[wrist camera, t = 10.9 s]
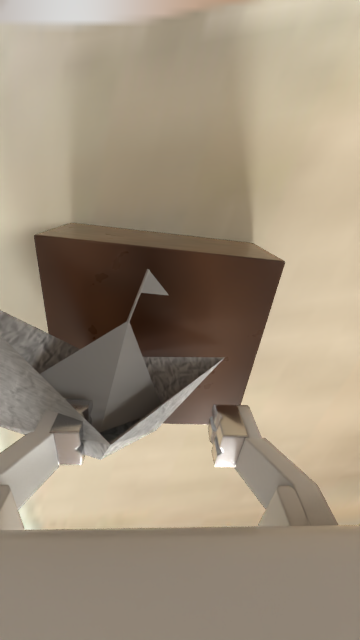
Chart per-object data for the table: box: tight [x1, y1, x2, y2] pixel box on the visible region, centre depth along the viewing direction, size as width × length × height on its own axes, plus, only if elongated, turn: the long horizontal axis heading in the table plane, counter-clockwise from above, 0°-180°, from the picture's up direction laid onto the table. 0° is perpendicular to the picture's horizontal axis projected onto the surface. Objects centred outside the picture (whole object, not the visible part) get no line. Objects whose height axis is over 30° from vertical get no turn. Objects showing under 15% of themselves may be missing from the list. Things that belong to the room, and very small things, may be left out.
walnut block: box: [34, 223, 285, 425], centre depth 16 cm, size 12×12×5 cm
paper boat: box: [0, 269, 225, 460], centre depth 11 cm, size 12×6×9 cm
